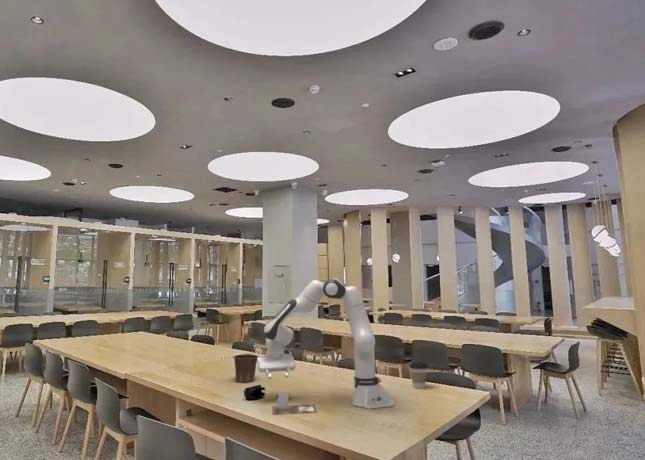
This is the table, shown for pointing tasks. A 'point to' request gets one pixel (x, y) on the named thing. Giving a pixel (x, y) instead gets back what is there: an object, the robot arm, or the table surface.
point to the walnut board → (295, 409)
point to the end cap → (254, 393)
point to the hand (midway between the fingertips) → (278, 377)
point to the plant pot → (245, 367)
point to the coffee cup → (418, 374)
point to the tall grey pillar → (282, 401)
